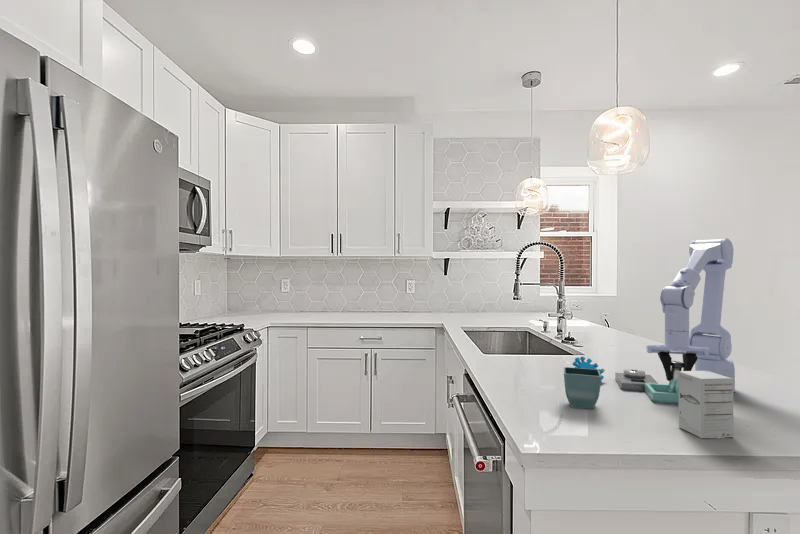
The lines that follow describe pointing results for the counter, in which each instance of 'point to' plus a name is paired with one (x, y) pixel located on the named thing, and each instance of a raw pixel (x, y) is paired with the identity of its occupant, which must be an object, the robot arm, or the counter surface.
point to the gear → (587, 365)
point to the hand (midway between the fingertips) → (677, 380)
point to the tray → (661, 393)
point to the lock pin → (675, 376)
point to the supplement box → (706, 404)
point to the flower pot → (582, 386)
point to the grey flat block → (633, 379)
